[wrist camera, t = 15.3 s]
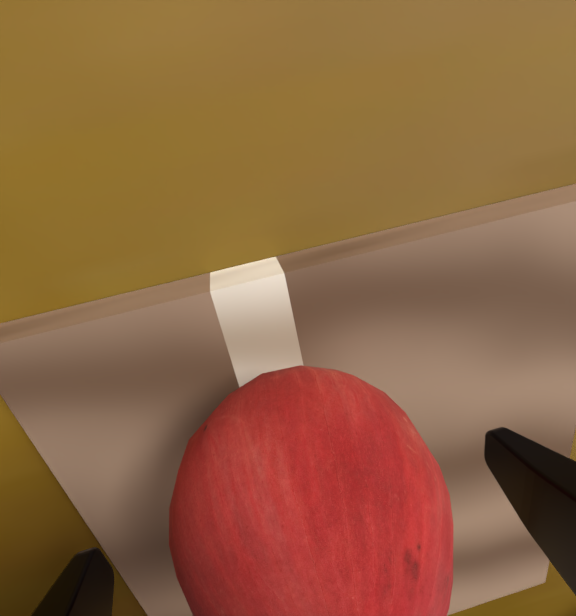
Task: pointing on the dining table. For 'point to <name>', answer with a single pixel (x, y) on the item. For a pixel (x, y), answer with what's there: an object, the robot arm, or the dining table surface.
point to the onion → (311, 504)
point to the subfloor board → (324, 354)
